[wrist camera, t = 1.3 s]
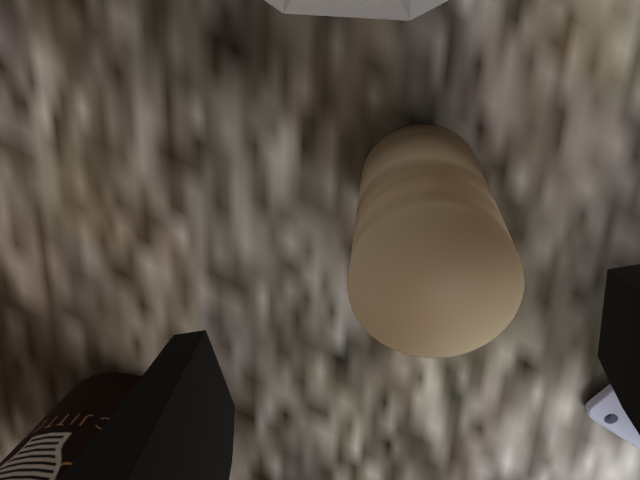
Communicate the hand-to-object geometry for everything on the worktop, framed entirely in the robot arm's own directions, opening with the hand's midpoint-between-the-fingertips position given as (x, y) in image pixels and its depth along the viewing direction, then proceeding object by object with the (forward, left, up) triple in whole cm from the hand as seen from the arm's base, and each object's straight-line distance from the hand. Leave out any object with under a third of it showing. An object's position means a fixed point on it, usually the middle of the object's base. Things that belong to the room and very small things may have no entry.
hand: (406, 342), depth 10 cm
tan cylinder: (-1, 0, -10) cm, 10 cm away
